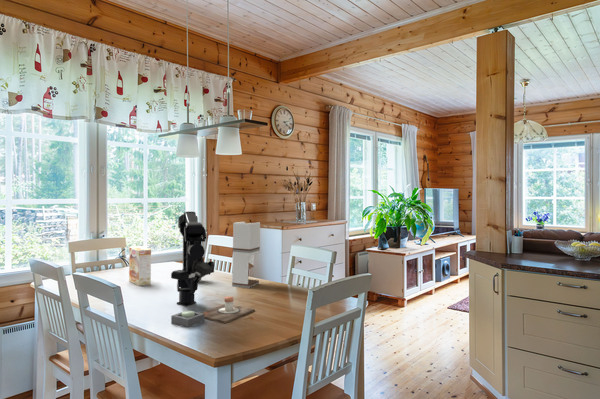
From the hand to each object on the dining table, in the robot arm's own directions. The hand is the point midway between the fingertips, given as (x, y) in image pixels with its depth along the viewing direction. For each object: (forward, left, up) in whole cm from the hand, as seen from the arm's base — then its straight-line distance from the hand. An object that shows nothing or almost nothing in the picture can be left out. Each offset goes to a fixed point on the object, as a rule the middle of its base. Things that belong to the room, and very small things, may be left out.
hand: (193, 292), depth 165 cm
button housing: (+1, -4, -11) cm, 12 cm away
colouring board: (+6, +13, -11) cm, 18 cm away
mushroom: (+6, +15, -10) cm, 19 cm away
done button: (+1, -4, -9) cm, 10 cm away
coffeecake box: (-71, +31, -11) cm, 78 cm away
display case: (-19, +60, -11) cm, 64 cm away
